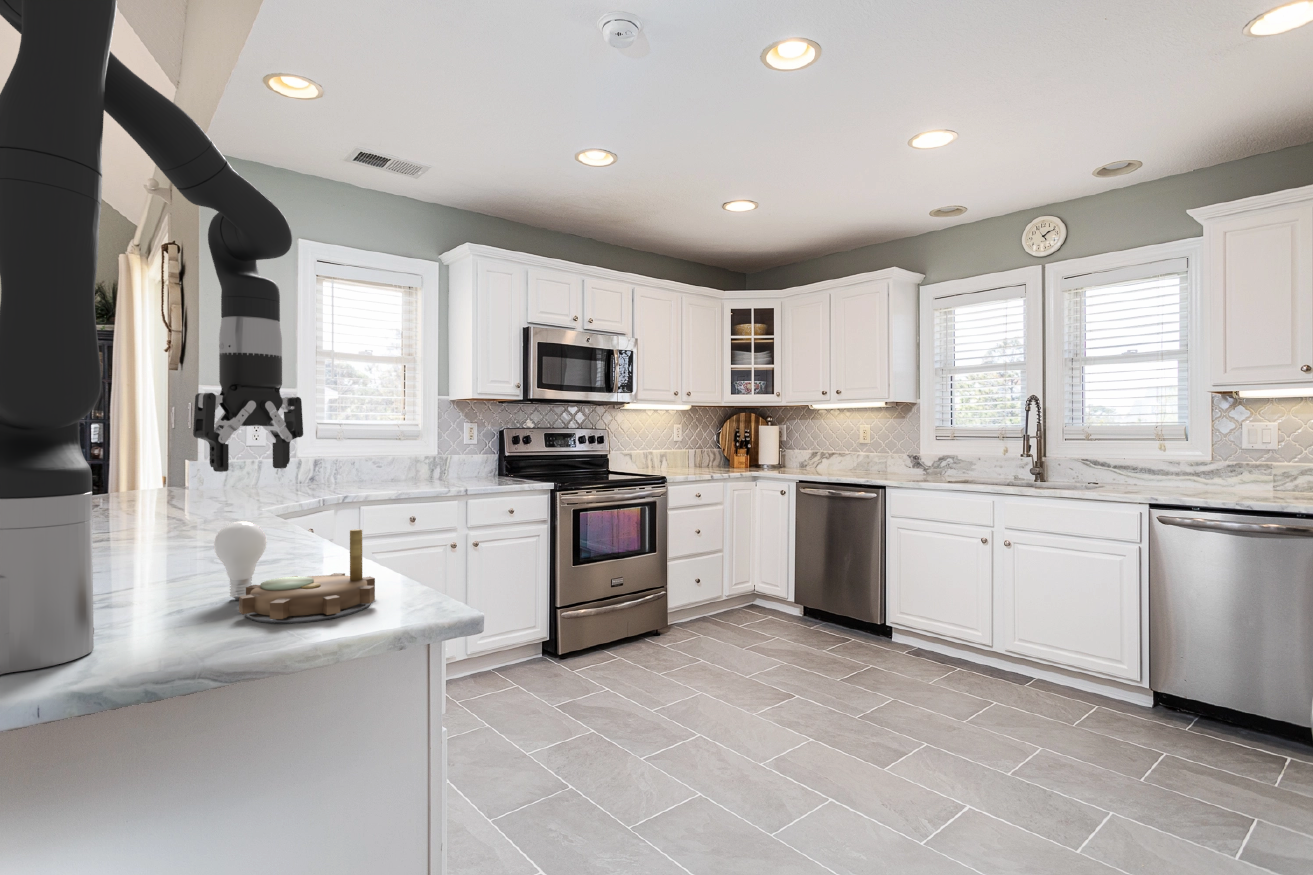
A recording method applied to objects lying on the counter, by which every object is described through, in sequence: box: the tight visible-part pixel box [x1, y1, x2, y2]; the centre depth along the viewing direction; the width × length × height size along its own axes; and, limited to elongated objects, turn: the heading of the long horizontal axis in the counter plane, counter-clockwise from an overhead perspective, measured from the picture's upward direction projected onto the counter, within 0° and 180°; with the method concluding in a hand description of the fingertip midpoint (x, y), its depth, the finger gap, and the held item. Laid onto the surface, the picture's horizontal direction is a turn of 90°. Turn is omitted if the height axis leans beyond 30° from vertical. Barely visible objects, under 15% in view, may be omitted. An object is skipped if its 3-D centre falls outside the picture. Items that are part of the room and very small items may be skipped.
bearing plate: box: [245, 602, 372, 625], centre depth 92 cm, size 15×15×1 cm
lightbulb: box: [213, 520, 268, 601], centre depth 96 cm, size 6×6×11 cm
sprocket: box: [238, 528, 376, 619], centre depth 92 cm, size 17×17×9 cm
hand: (251, 469), depth 96 cm, fingers open, 8 cm apart
